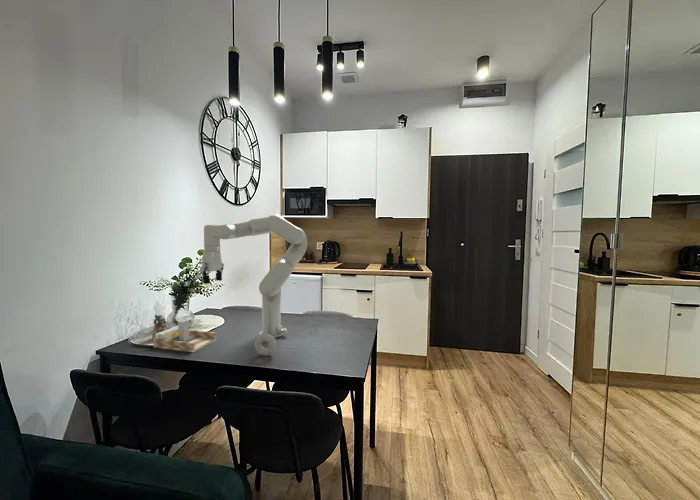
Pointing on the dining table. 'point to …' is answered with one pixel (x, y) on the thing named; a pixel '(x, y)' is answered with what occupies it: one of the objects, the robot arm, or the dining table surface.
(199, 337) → the wooden tray
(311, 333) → the dining table surface
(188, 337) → the striker
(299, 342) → the dining table surface
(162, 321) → the figurine
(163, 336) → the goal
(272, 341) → the donut
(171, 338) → the ball
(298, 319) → the dining table surface
